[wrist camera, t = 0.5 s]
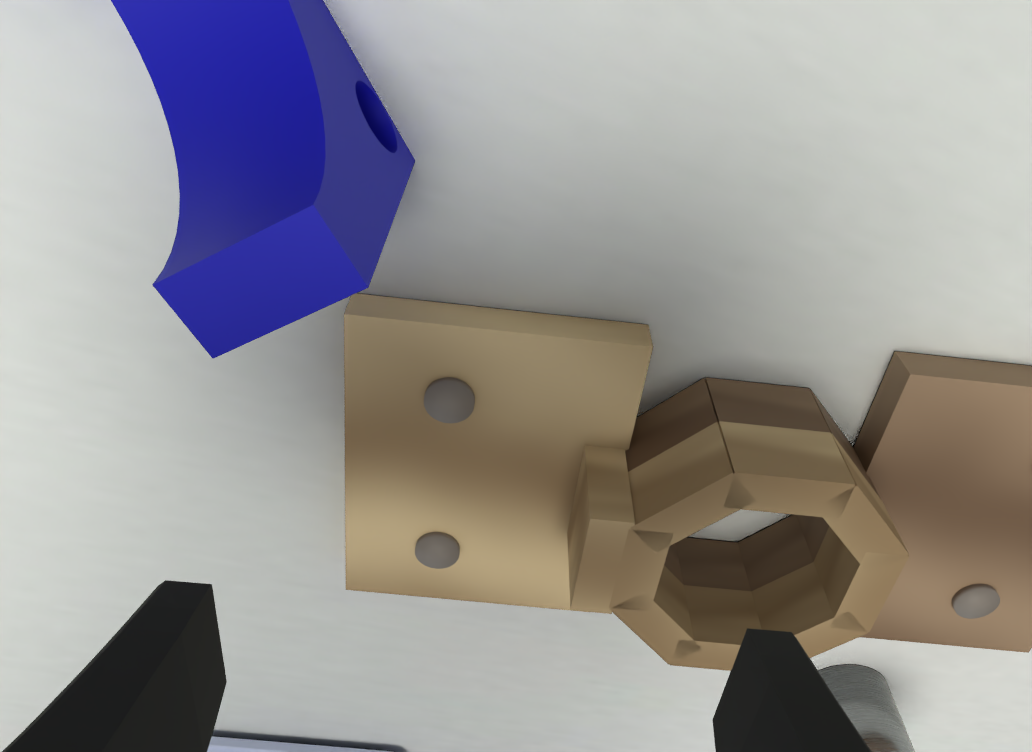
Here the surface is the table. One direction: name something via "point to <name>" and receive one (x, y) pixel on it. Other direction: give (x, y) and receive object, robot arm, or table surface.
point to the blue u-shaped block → (267, 161)
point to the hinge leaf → (580, 483)
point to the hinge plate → (894, 493)
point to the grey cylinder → (868, 706)
